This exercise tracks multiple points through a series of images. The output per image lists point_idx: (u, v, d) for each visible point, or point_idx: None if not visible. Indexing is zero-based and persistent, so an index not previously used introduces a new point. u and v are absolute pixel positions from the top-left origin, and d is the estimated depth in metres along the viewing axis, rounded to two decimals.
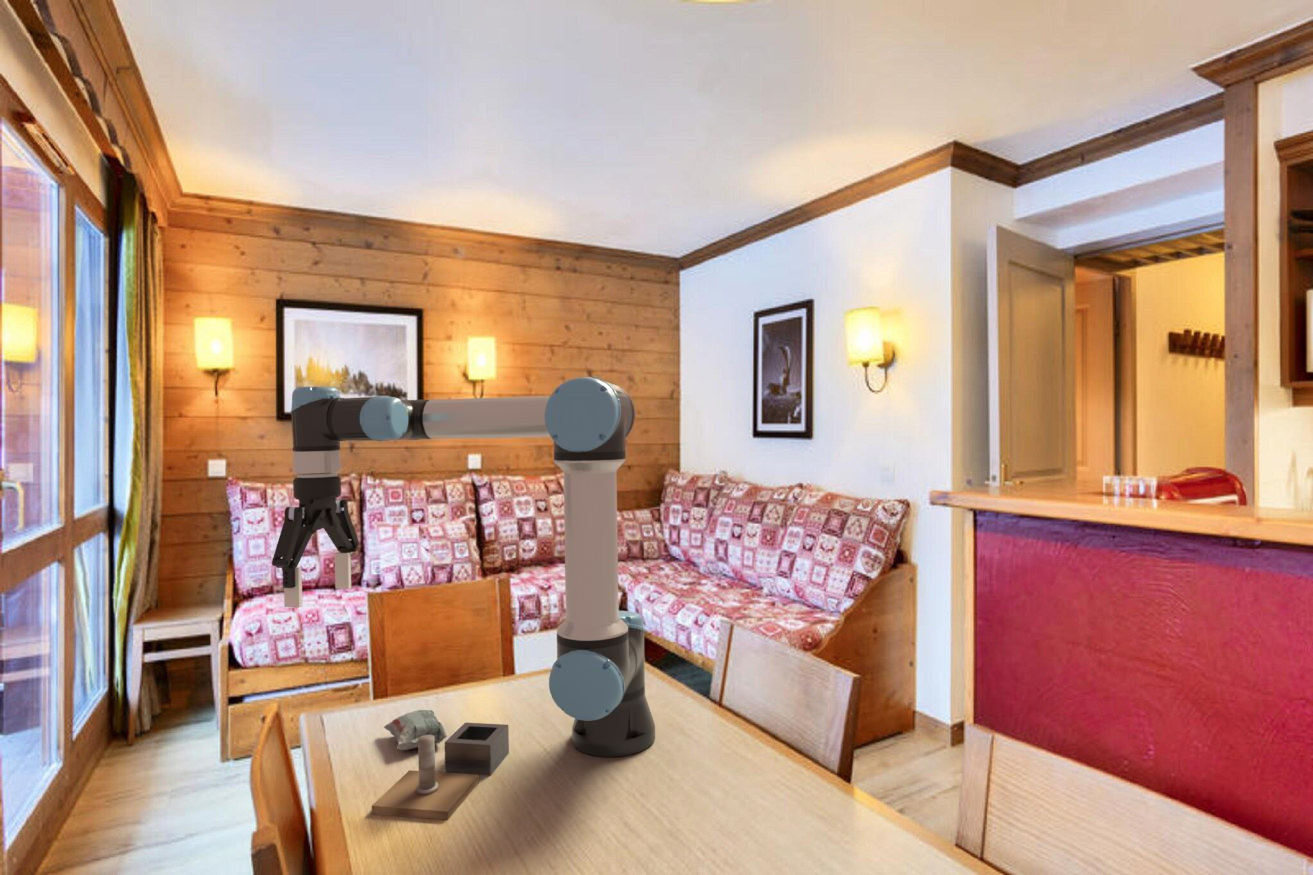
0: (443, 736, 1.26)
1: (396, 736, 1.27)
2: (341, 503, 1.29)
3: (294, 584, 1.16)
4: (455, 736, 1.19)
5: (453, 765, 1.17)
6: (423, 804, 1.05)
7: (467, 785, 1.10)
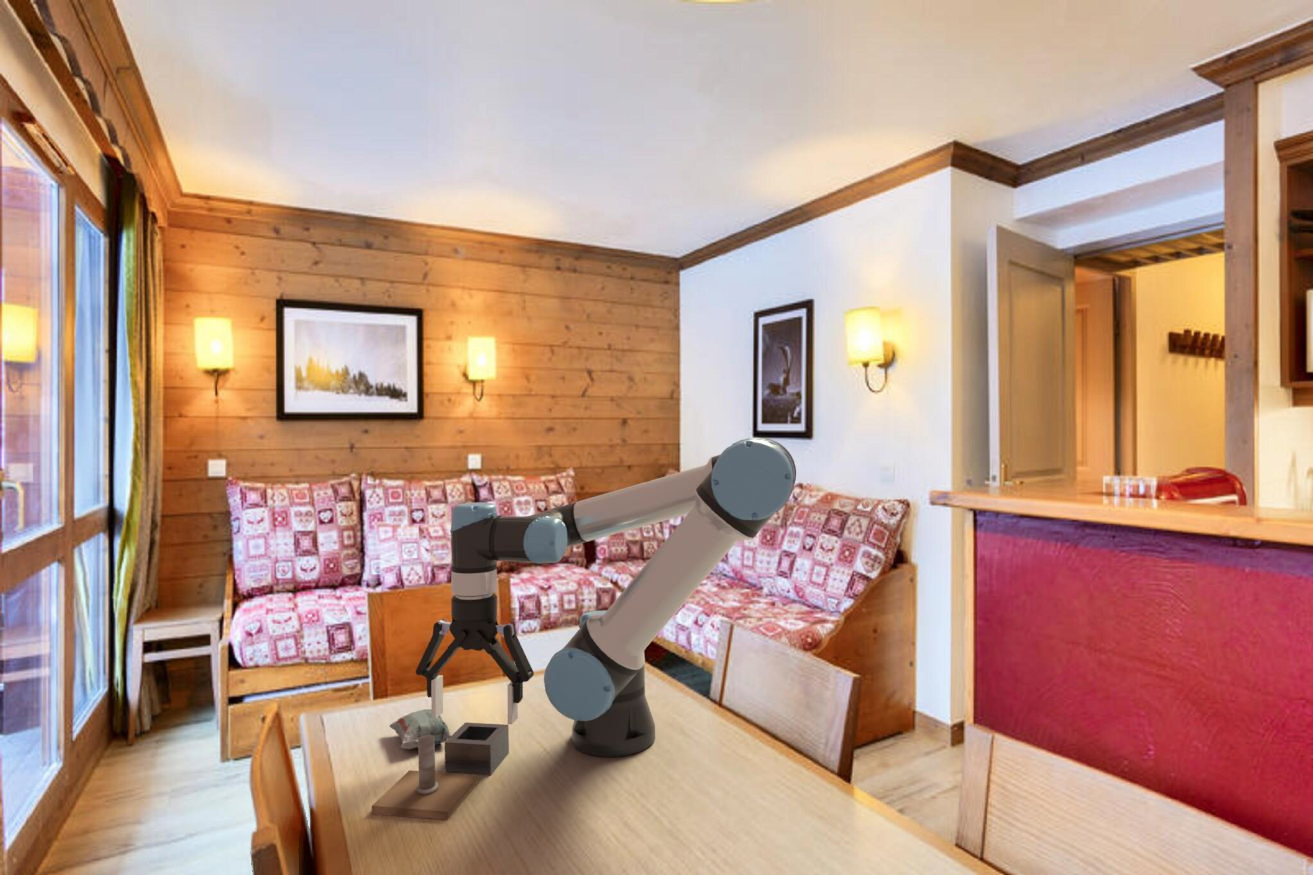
0: (447, 736, 1.26)
1: (401, 735, 1.27)
2: None
3: None
4: (455, 736, 1.19)
5: (453, 765, 1.17)
6: (423, 804, 1.05)
7: (467, 785, 1.10)
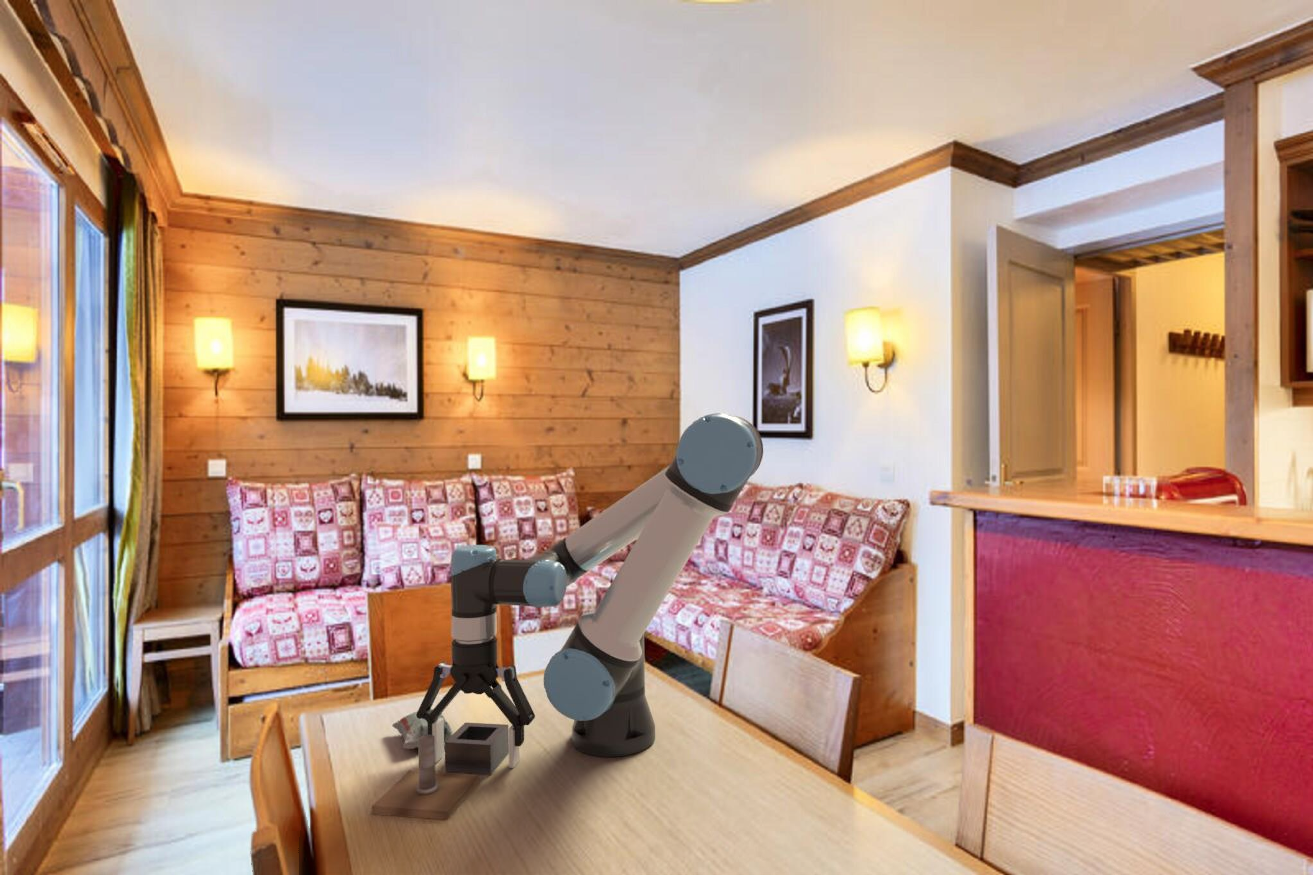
0: (449, 736, 1.26)
1: (403, 735, 1.27)
2: None
3: None
4: (455, 736, 1.19)
5: (453, 765, 1.17)
6: (423, 804, 1.05)
7: (467, 785, 1.10)
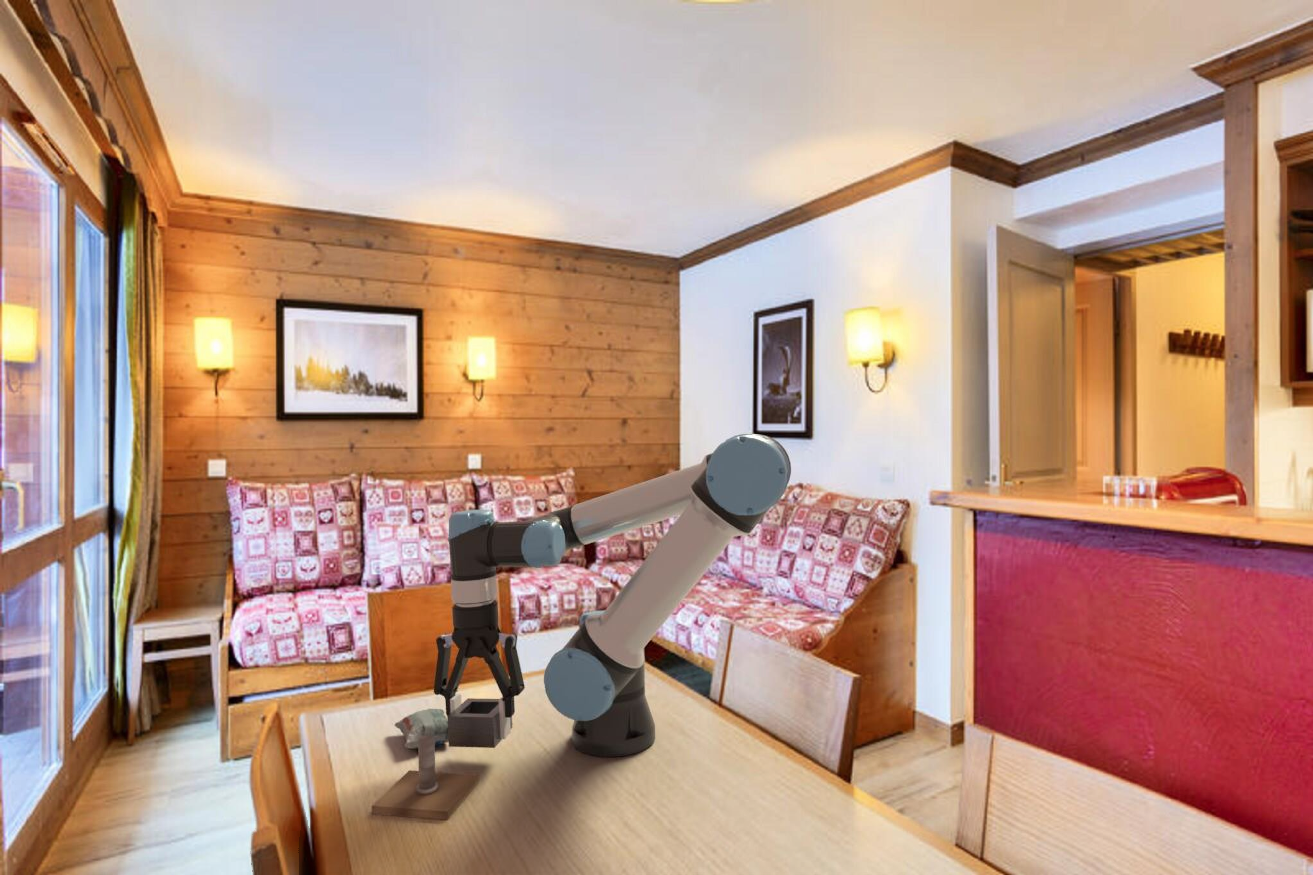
0: None
1: (405, 734, 1.27)
2: (506, 639, 1.19)
3: None
4: (458, 711, 1.19)
5: (456, 739, 1.17)
6: (423, 804, 1.05)
7: (467, 785, 1.10)
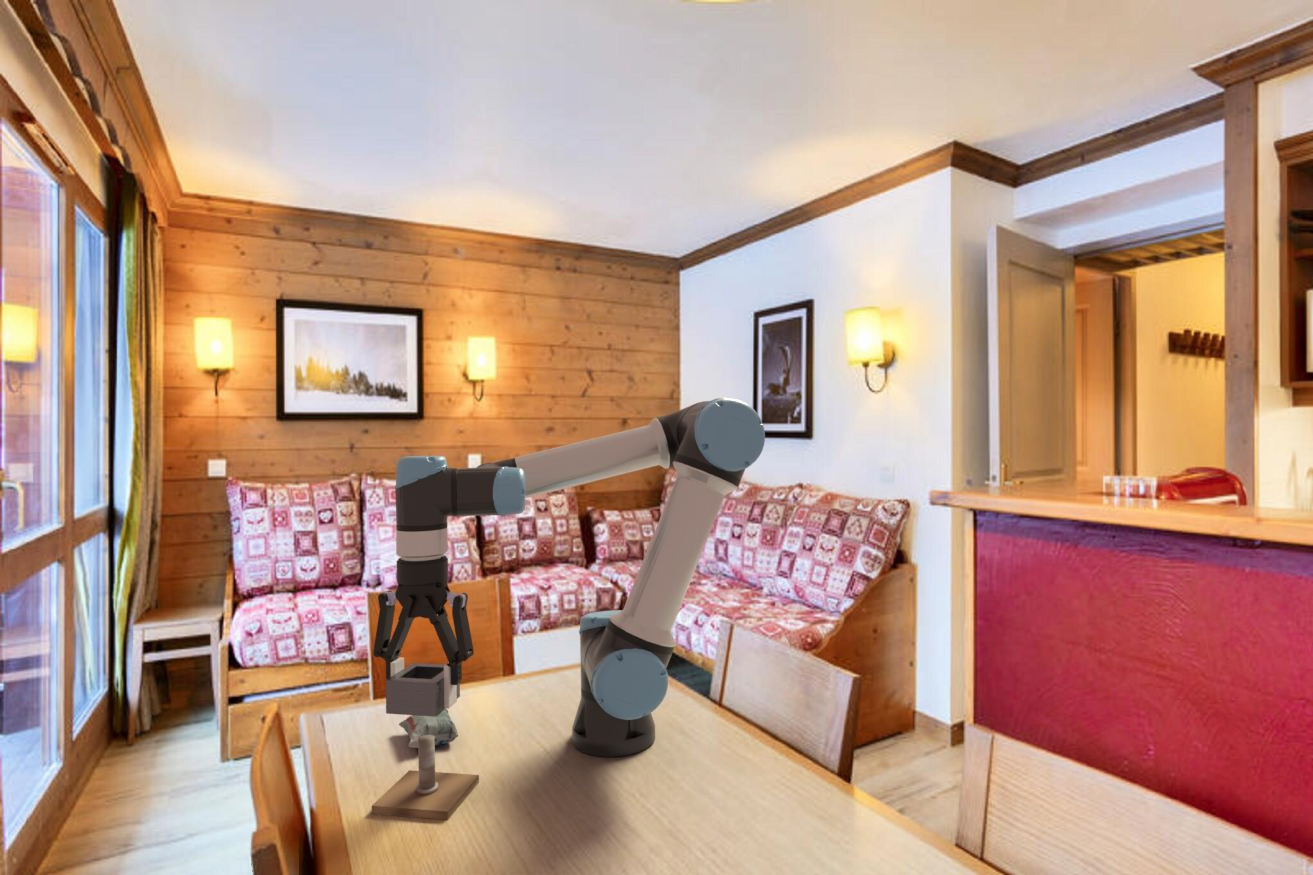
0: (455, 735, 1.26)
1: (409, 734, 1.28)
2: None
3: None
4: (399, 675, 1.08)
5: (395, 706, 1.05)
6: (423, 804, 1.05)
7: (467, 785, 1.10)
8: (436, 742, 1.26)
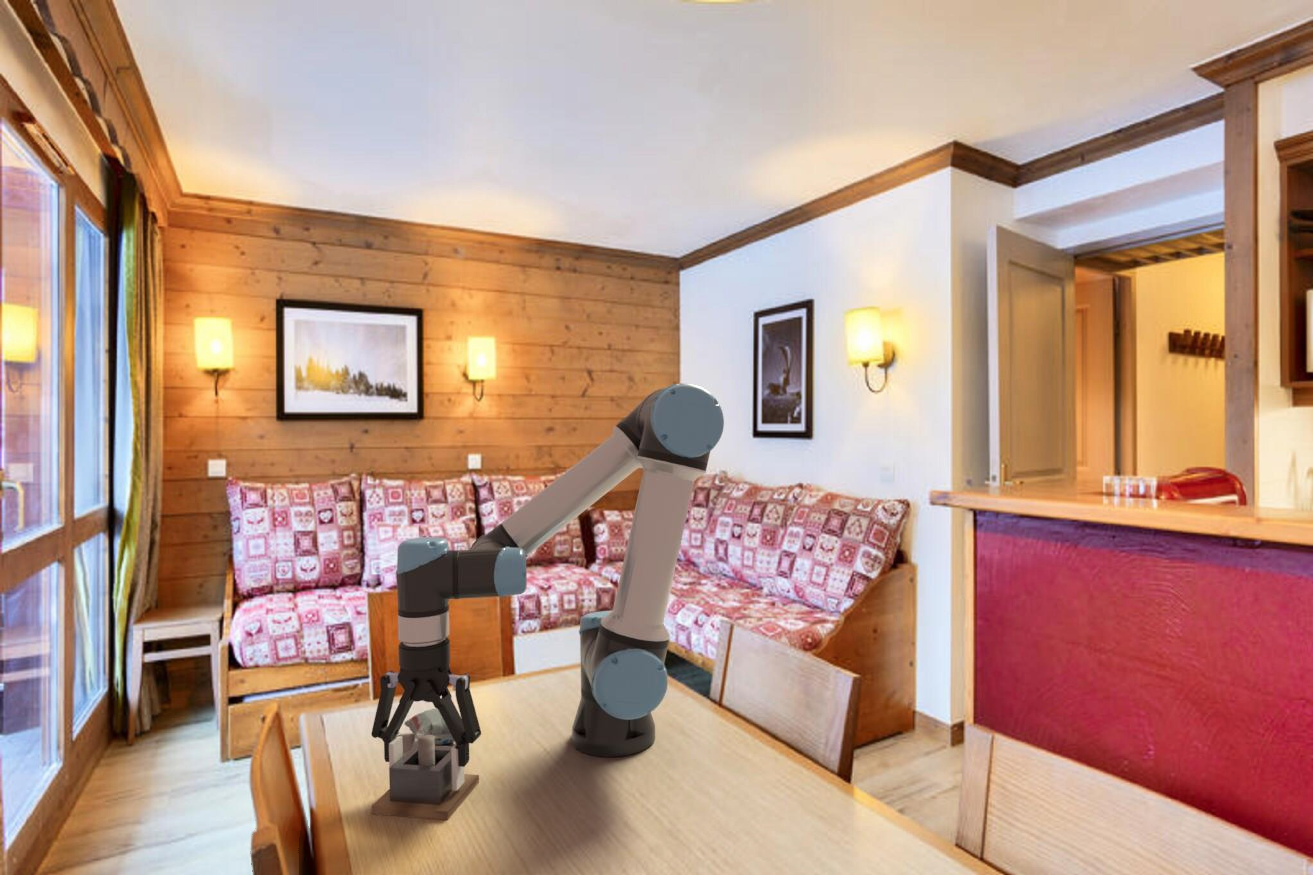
0: None
1: (414, 733, 1.28)
2: None
3: None
4: (402, 761, 1.08)
5: (398, 794, 1.06)
6: (423, 804, 1.05)
7: (467, 785, 1.10)
8: (440, 742, 1.26)
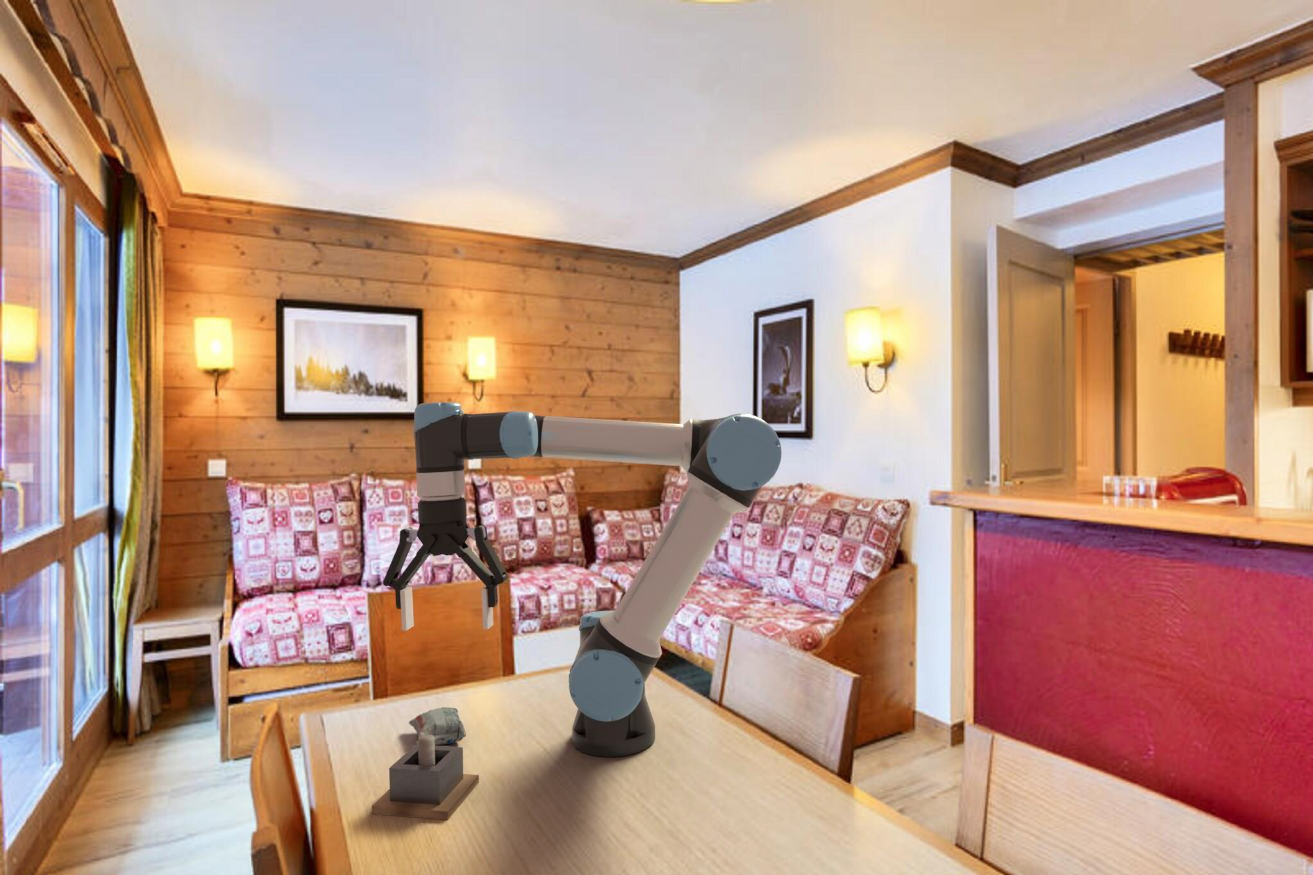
0: (462, 735, 1.27)
1: (418, 732, 1.28)
2: None
3: None
4: (402, 761, 1.08)
5: (398, 794, 1.06)
6: (423, 804, 1.05)
7: (467, 785, 1.10)
8: (444, 741, 1.26)
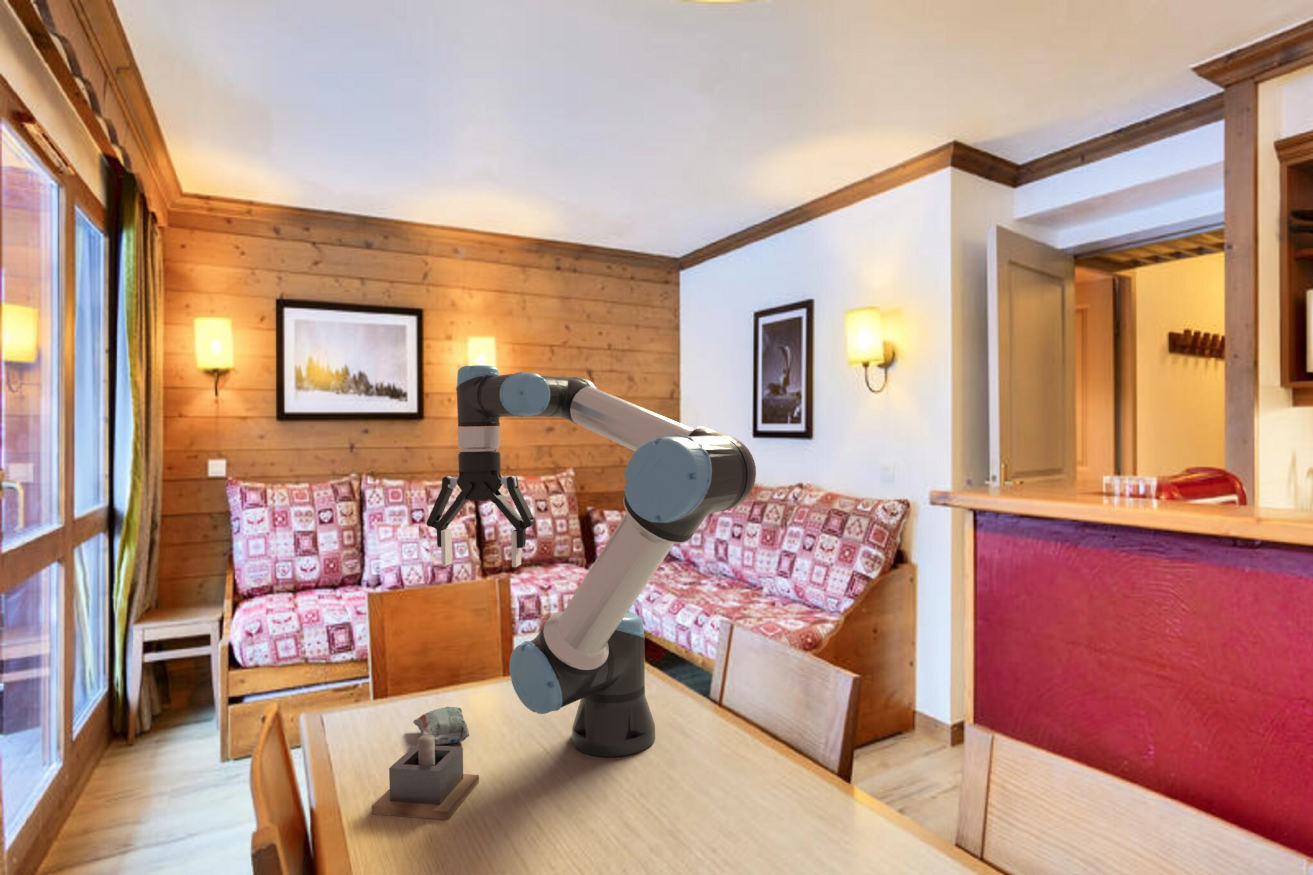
0: (466, 734, 1.27)
1: (422, 732, 1.28)
2: None
3: None
4: (402, 761, 1.08)
5: (398, 794, 1.06)
6: (423, 804, 1.05)
7: (467, 785, 1.10)
8: (447, 741, 1.27)
